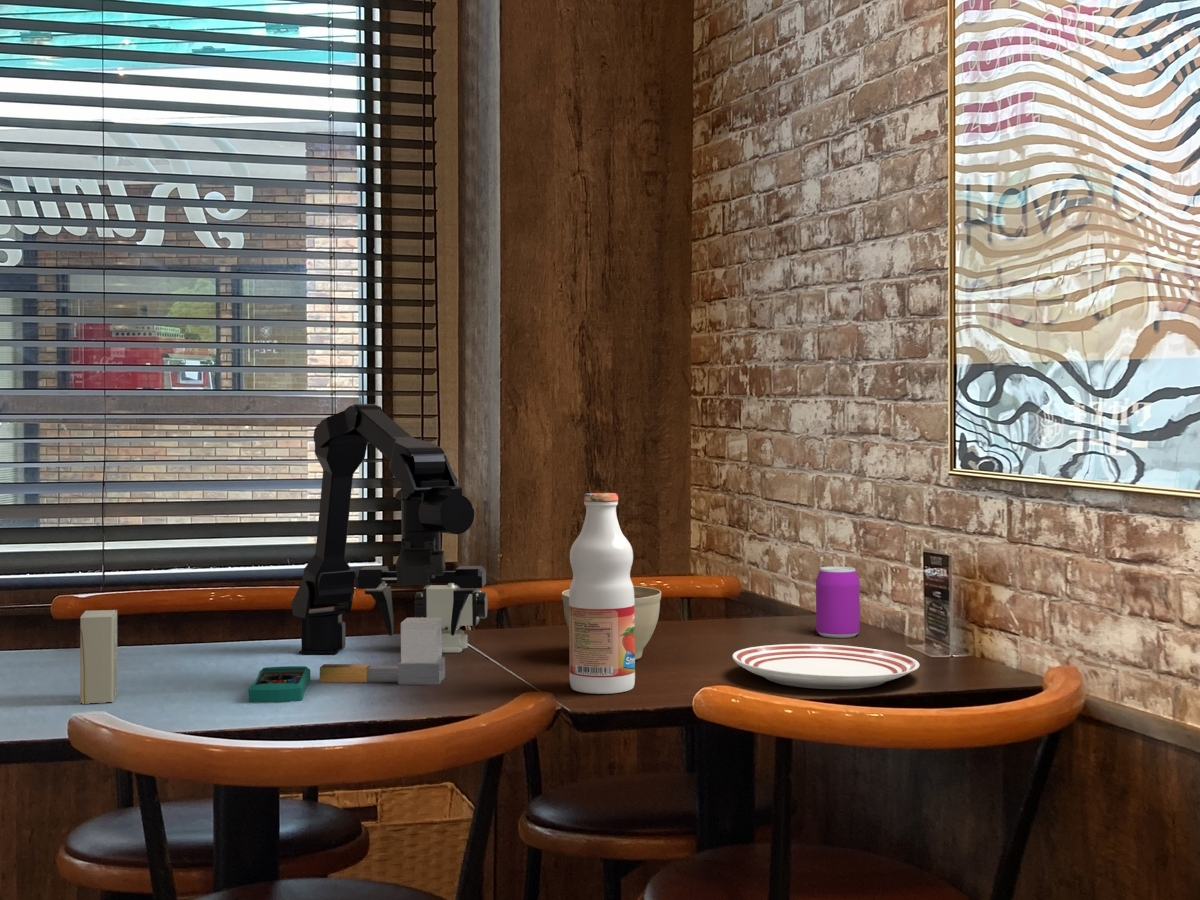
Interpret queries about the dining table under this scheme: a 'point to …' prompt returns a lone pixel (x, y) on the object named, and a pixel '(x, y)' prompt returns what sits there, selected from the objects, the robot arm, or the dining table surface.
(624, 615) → the fruit juice
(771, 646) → the dinner plate
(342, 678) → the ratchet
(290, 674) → the digital multimeter
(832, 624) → the beverage can
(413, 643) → the plain white cube
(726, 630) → the dining table surface
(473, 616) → the pneumatic valve
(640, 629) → the planter bowl
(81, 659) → the skincare box
